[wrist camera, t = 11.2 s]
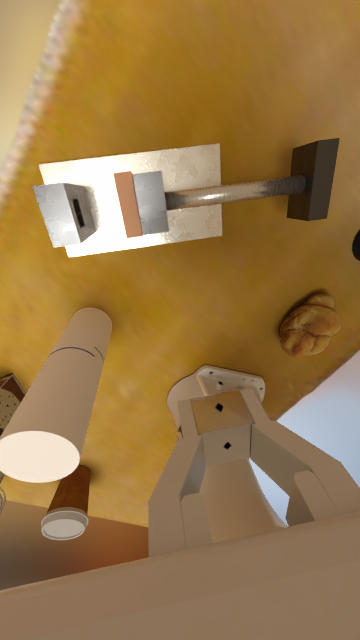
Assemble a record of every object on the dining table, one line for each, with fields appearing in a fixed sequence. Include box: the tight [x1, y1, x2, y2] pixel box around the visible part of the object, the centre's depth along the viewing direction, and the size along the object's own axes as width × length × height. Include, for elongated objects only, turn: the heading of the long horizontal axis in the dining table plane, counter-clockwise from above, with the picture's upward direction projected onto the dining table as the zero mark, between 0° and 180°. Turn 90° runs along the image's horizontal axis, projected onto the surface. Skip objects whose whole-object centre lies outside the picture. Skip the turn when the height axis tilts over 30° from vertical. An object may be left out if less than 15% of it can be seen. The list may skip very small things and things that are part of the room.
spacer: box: [113, 171, 143, 238], centre depth 32 cm, size 2×7×7 cm, turn 6°
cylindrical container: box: [0, 307, 112, 482], centre depth 32 cm, size 7×7×25 cm
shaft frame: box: [32, 143, 222, 257], centre depth 31 cm, size 24×12×11 cm, turn 96°
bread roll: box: [280, 293, 341, 357], centre depth 45 cm, size 13×10×8 cm
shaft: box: [164, 138, 340, 221], centre depth 29 cm, size 21×8×5 cm, turn 96°
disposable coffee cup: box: [41, 465, 90, 540], centre depth 56 cm, size 10×10×12 cm
